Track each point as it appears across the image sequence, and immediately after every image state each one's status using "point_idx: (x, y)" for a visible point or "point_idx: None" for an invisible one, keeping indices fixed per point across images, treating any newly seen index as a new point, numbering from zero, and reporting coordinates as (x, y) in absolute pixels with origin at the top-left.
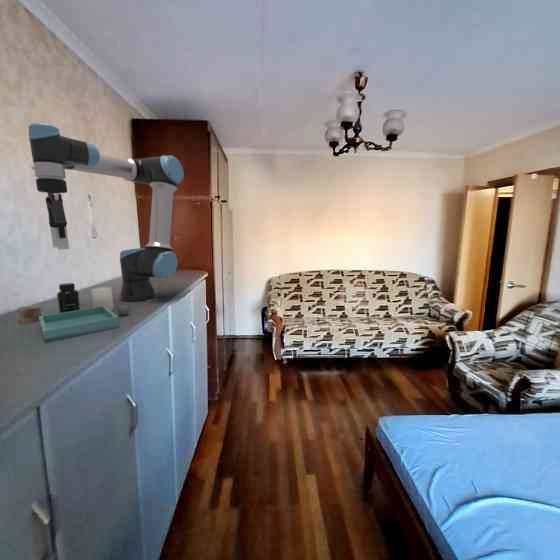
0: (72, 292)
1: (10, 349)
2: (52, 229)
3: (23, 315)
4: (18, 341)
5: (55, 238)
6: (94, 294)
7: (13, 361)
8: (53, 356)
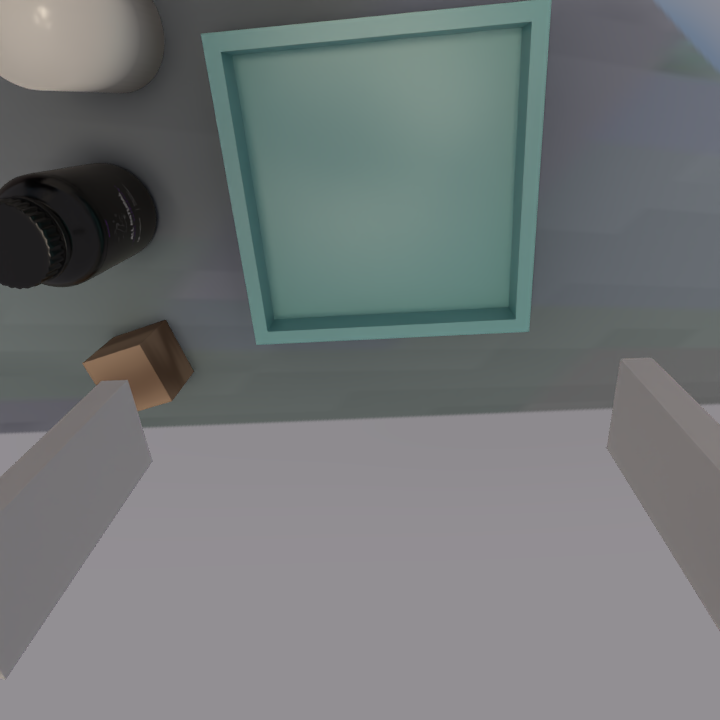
0: (79, 211)
1: (507, 400)
2: (19, 633)
3: (179, 390)
4: (430, 384)
5: (94, 506)
6: (93, 77)
7: None
8: (704, 295)
